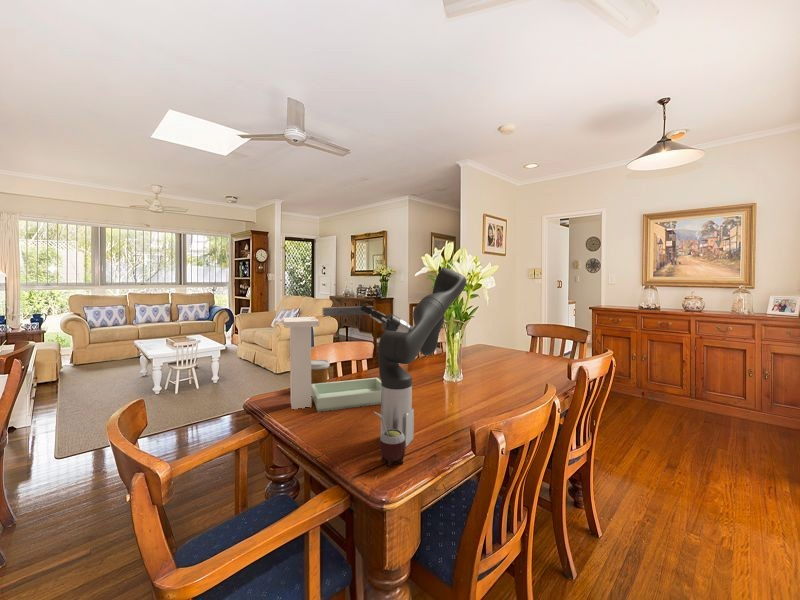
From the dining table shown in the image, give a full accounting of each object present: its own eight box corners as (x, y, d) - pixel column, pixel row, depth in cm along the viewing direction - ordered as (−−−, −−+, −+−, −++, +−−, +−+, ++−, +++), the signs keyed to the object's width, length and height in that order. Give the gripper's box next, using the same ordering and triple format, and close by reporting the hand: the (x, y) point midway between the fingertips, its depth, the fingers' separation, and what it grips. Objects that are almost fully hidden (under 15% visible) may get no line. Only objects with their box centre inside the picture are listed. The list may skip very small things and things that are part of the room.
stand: (314, 397, 142) (314, 316, 140) (319, 409, 130) (319, 320, 128) (283, 401, 138) (282, 317, 135) (285, 413, 126) (284, 322, 123)
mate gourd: (408, 457, 97) (409, 404, 96) (399, 472, 89) (400, 415, 88) (383, 453, 99) (383, 401, 98) (372, 467, 91) (372, 411, 90)
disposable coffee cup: (334, 389, 153) (334, 362, 152) (315, 394, 146) (315, 365, 145) (321, 384, 160) (321, 358, 159) (303, 389, 153) (302, 361, 152)
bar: (372, 313, 143) (372, 306, 143) (374, 314, 140) (374, 306, 140) (322, 315, 136) (322, 307, 136) (323, 316, 133) (323, 308, 133)
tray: (377, 388, 154) (377, 377, 154) (391, 402, 138) (391, 390, 137) (311, 396, 144) (311, 384, 144) (317, 412, 127) (317, 398, 127)
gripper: (394, 316, 153) (361, 297, 147) (406, 320, 140) (370, 299, 134) (386, 331, 152) (352, 313, 146) (397, 337, 139) (361, 317, 133)
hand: (361, 306), depth 140 cm, fingers closed on bar, 3 cm apart
